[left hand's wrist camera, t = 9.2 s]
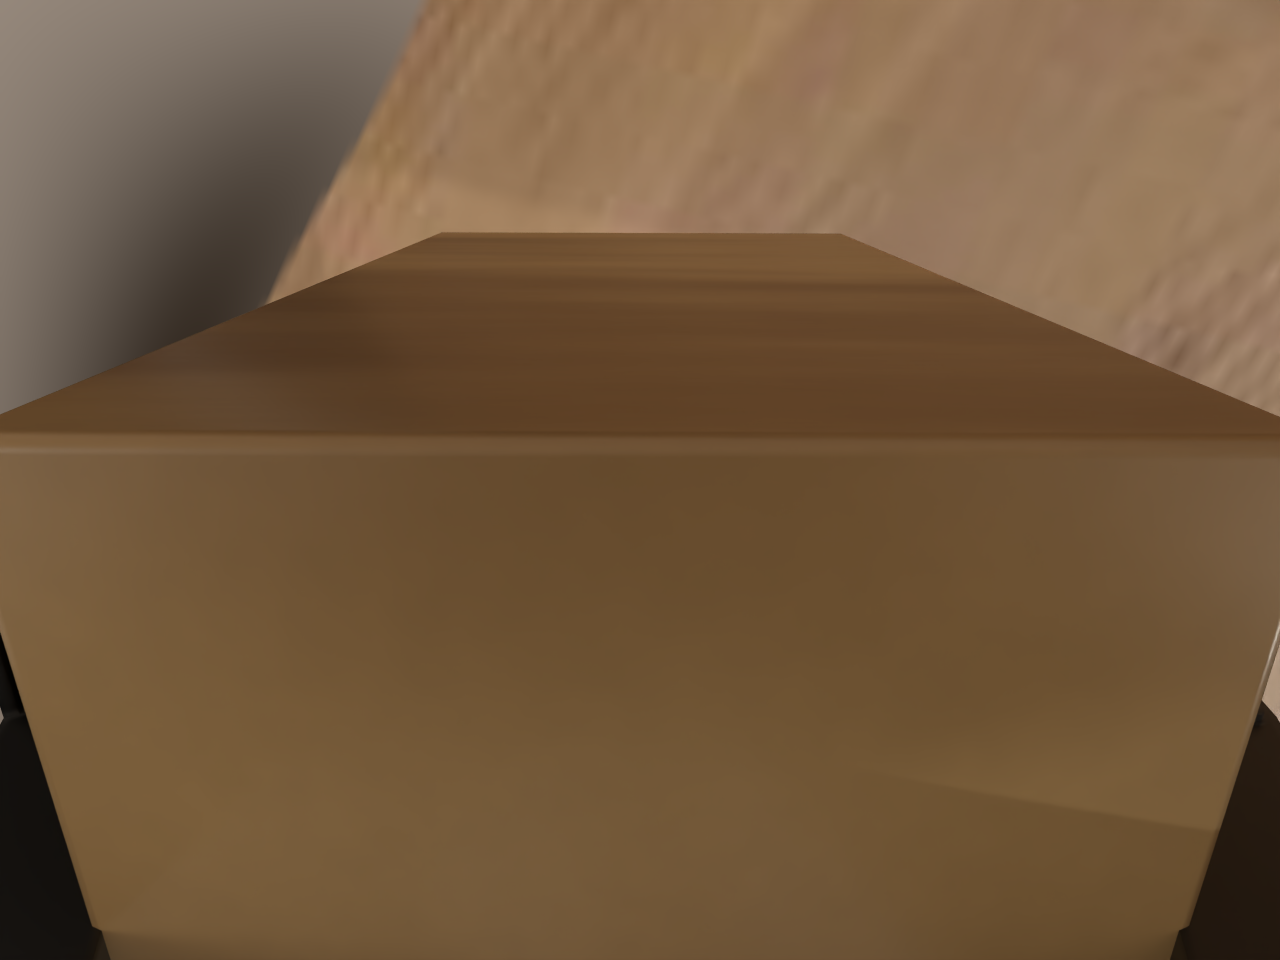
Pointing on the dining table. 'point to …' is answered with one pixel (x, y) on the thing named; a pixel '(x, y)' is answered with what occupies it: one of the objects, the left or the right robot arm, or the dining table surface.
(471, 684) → the box
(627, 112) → the dining table surface
